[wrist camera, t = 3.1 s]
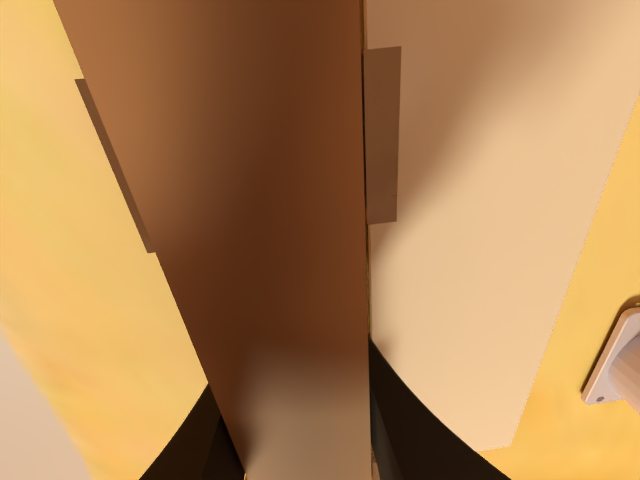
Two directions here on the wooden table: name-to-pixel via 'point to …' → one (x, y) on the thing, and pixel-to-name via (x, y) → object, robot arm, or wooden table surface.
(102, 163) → the wooden table surface
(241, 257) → the rail
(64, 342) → the wooden table surface
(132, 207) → the post
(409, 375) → the felt pad
